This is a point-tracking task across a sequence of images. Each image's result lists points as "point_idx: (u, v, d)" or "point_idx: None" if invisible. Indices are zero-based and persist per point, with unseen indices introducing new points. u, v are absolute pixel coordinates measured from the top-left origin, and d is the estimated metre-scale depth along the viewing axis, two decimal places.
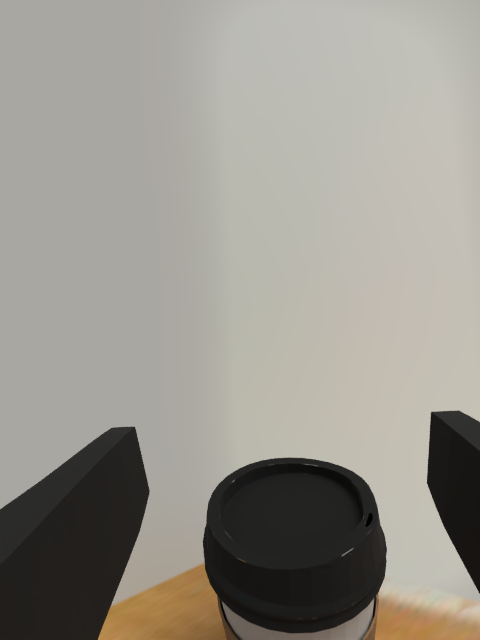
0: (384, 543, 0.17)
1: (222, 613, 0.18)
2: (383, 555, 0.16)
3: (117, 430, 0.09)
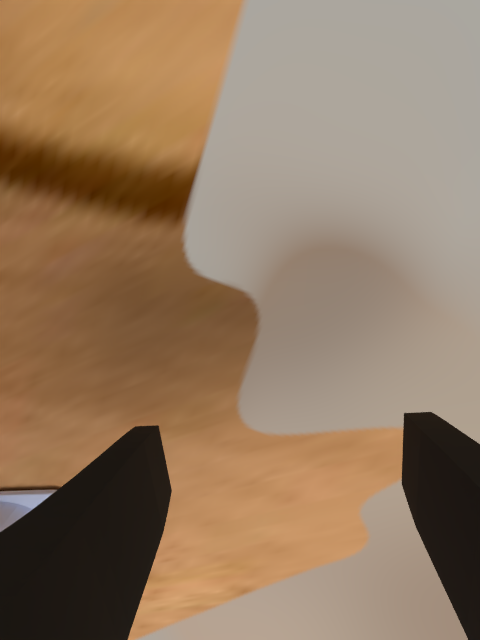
0: None
1: None
2: None
3: (141, 429, 0.09)
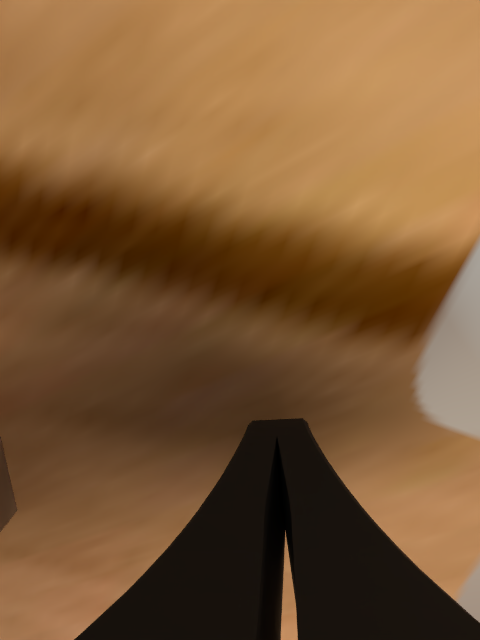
0: None
1: None
2: None
3: (262, 423, 0.09)
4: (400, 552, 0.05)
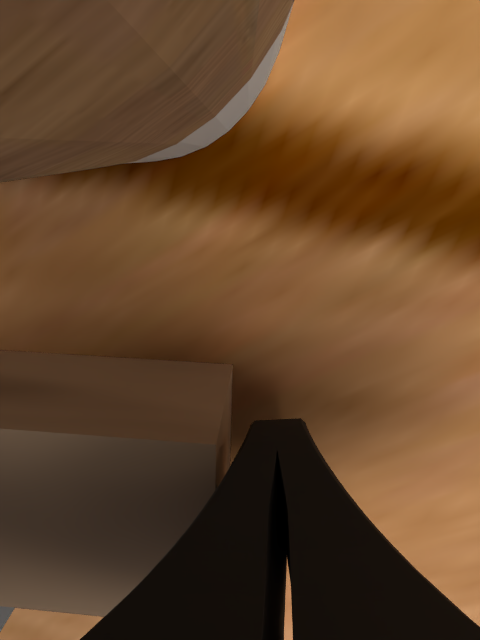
0: None
1: None
2: None
3: (264, 423, 0.09)
4: (396, 552, 0.05)
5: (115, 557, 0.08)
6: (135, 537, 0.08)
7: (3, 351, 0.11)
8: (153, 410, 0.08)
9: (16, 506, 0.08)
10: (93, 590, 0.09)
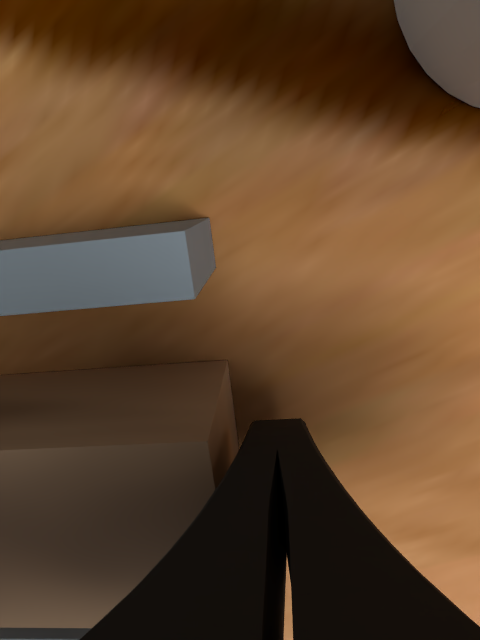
0: None
1: None
2: None
3: (264, 423, 0.09)
4: (397, 552, 0.05)
5: (128, 567, 0.08)
6: (144, 545, 0.08)
7: (3, 377, 0.11)
8: (146, 415, 0.08)
9: (24, 526, 0.08)
10: (112, 603, 0.09)
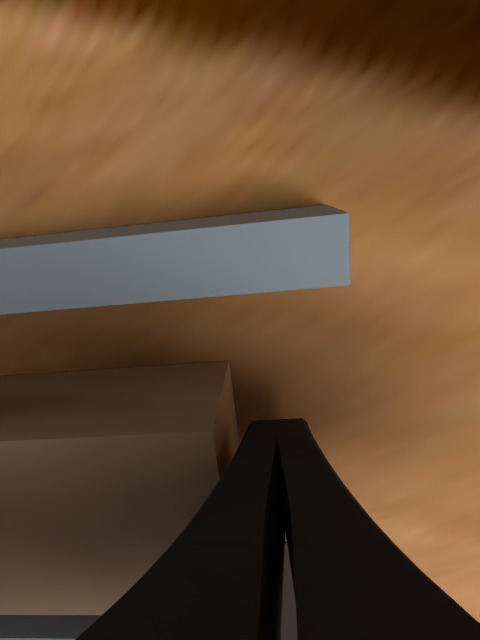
0: None
1: None
2: None
3: (262, 423, 0.09)
4: (400, 552, 0.05)
5: (134, 554, 0.09)
6: (150, 533, 0.08)
7: None
8: (152, 408, 0.08)
9: (35, 515, 0.08)
10: (119, 589, 0.09)
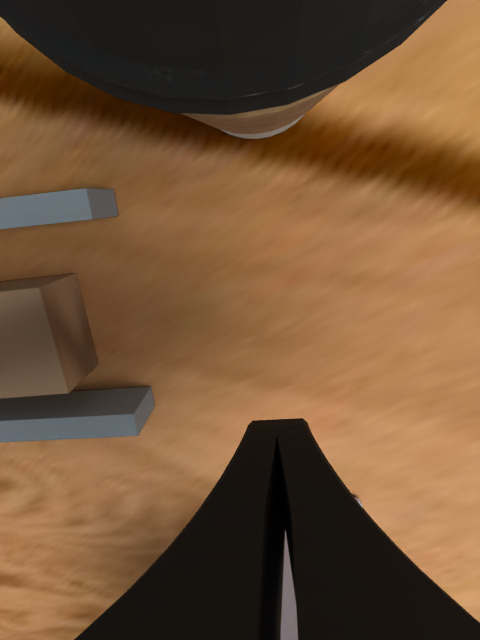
0: None
1: None
2: None
3: (262, 423, 0.09)
4: (400, 552, 0.05)
5: (13, 358, 0.18)
6: (19, 345, 0.17)
7: None
8: (21, 286, 0.17)
9: None
10: (8, 381, 0.18)
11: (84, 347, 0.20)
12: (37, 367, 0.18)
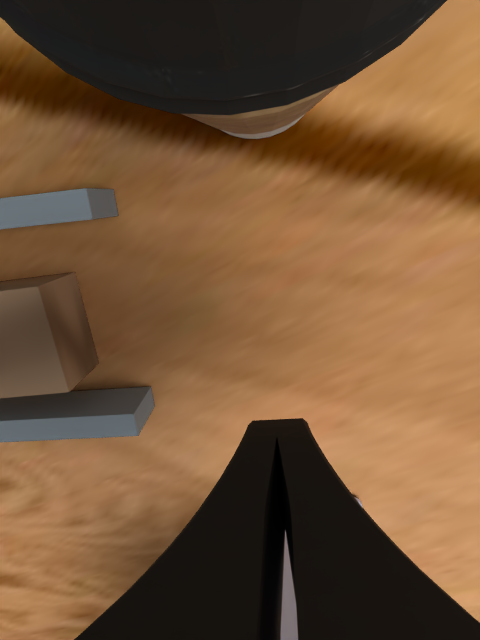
0: None
1: None
2: None
3: (261, 423, 0.09)
4: (400, 552, 0.05)
5: (13, 358, 0.18)
6: (19, 345, 0.17)
7: None
8: (20, 285, 0.17)
9: None
10: (8, 381, 0.18)
11: (84, 346, 0.20)
12: (37, 366, 0.18)
